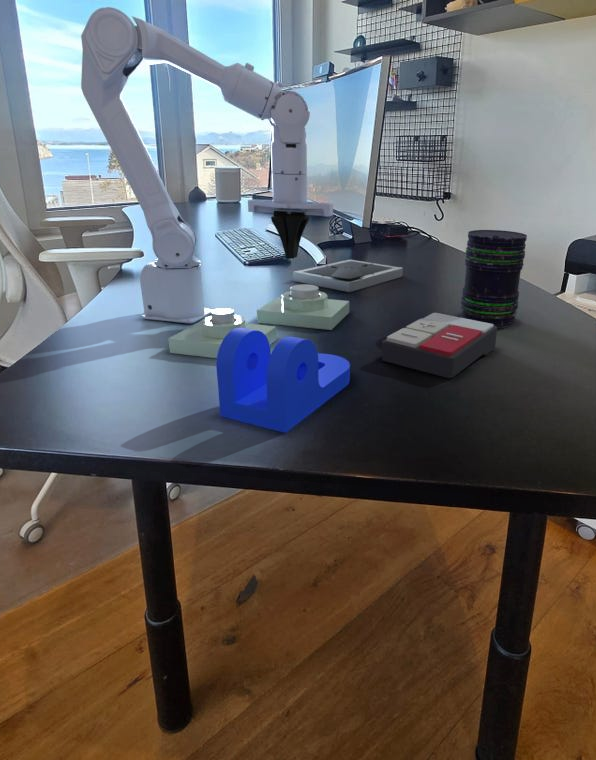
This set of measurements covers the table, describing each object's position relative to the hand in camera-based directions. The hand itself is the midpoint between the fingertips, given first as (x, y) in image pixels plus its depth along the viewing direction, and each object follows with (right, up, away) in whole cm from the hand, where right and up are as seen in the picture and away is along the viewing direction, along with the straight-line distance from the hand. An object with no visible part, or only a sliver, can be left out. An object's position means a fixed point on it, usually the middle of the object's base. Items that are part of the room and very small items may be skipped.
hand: (291, 257), depth 95 cm
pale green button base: (-8, -16, -15) cm, 23 cm away
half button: (-8, -13, -16) cm, 22 cm away
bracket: (+5, -23, -29) cm, 38 cm away
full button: (+2, -7, -1) cm, 8 cm away
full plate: (+2, -10, 0) cm, 11 cm away
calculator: (+24, -18, -15) cm, 34 cm away
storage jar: (+35, -11, +2) cm, 36 cm away
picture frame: (+9, +2, +30) cm, 32 cm away
